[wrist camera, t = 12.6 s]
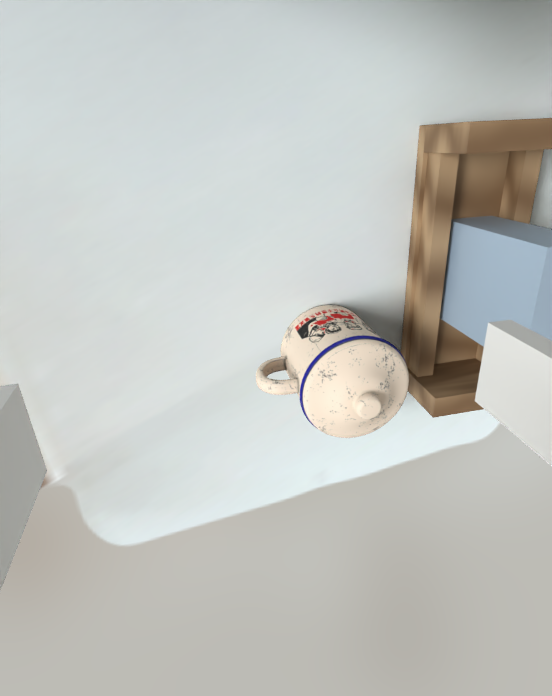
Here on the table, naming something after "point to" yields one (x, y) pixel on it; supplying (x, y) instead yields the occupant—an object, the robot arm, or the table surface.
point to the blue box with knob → (497, 276)
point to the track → (433, 238)
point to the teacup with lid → (338, 372)
